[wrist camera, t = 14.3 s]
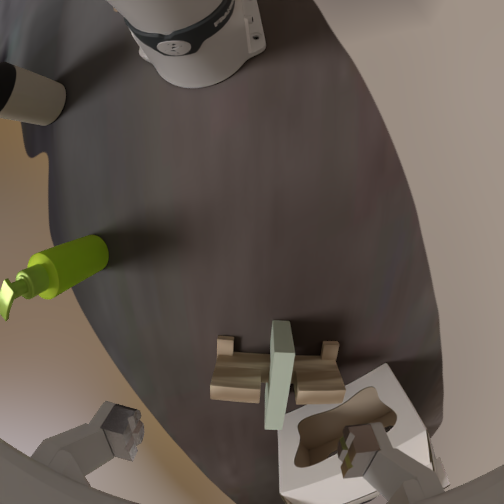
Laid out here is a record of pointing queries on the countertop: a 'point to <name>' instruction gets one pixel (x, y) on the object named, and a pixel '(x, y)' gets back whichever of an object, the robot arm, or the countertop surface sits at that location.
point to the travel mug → (29, 96)
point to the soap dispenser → (55, 271)
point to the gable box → (331, 430)
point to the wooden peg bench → (257, 370)
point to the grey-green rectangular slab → (279, 374)
